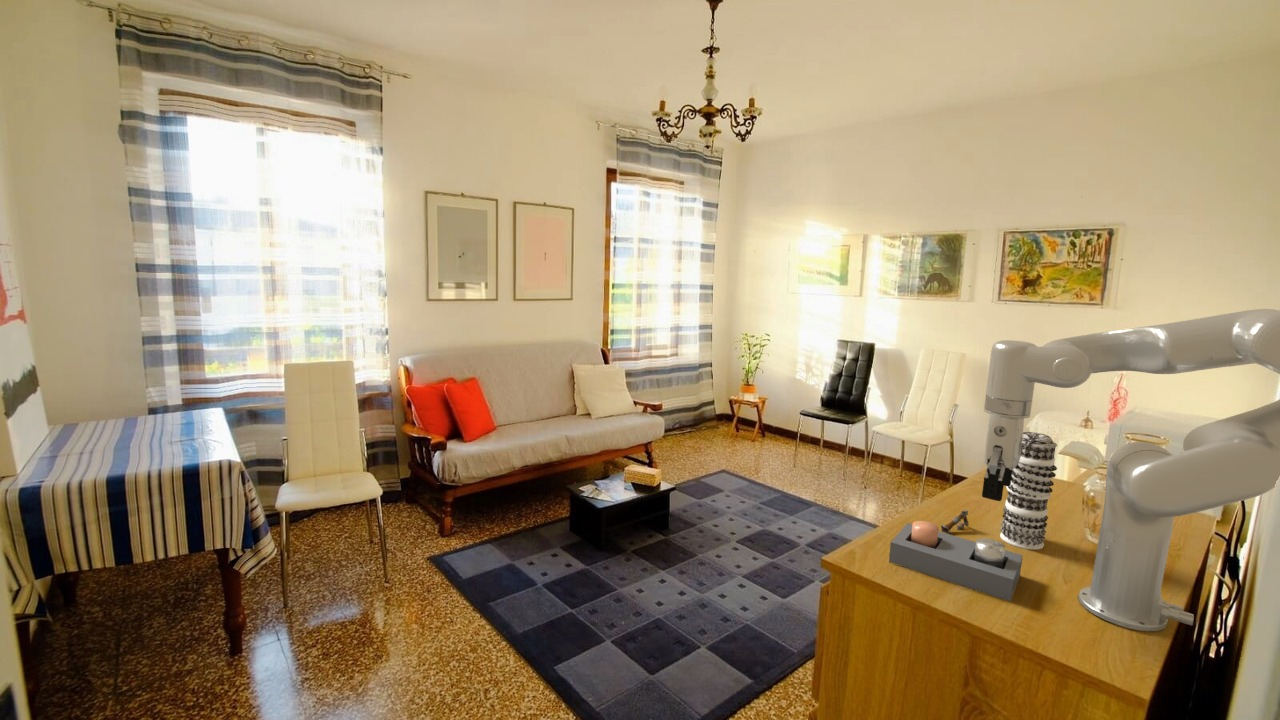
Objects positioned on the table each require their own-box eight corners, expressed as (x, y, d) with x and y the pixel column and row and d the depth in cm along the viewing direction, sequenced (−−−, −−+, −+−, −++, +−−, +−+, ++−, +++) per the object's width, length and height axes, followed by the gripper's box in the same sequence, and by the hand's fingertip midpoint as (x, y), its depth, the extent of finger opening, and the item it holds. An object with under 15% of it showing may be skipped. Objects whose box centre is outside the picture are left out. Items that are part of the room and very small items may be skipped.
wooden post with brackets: (973, 524, 140) (970, 509, 139) (950, 543, 138) (947, 528, 136) (966, 521, 142) (963, 506, 140) (944, 539, 139) (940, 524, 138)
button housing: (1019, 575, 119) (1022, 555, 119) (1010, 601, 110) (1013, 579, 109) (905, 541, 133) (907, 522, 132) (888, 561, 124) (890, 542, 123)
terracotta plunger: (939, 543, 125) (941, 525, 124) (933, 551, 121) (935, 533, 121) (914, 535, 128) (916, 518, 128) (907, 544, 125) (909, 526, 124)
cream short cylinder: (1004, 562, 118) (1007, 543, 117) (1000, 572, 114) (1003, 553, 113) (976, 554, 121) (978, 535, 120) (971, 563, 117) (973, 544, 116)
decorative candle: (1006, 547, 131) (1020, 439, 127) (992, 529, 140) (1005, 427, 135) (1052, 553, 129) (1069, 443, 124) (1035, 533, 138) (1050, 430, 133)
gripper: (1023, 419, 103) (1011, 511, 106) (1037, 401, 116) (1025, 483, 119) (975, 411, 108) (964, 499, 111) (993, 394, 121) (983, 474, 124)
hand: (996, 491), depth 115 cm, fingers open, 9 cm apart
